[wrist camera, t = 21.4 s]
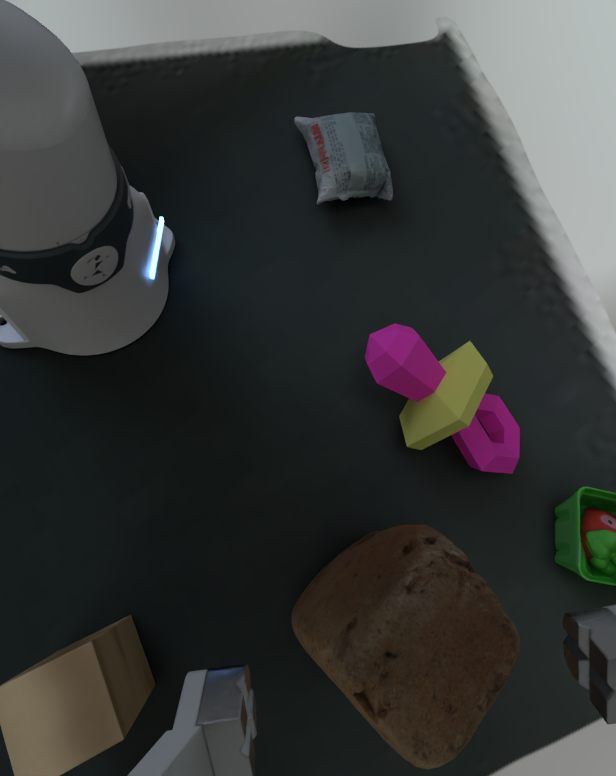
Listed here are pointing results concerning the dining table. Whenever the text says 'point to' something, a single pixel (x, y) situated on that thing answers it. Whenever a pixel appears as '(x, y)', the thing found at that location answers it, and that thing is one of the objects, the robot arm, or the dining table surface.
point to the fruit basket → (588, 535)
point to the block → (409, 639)
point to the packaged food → (347, 156)
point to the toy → (445, 398)
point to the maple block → (75, 701)
